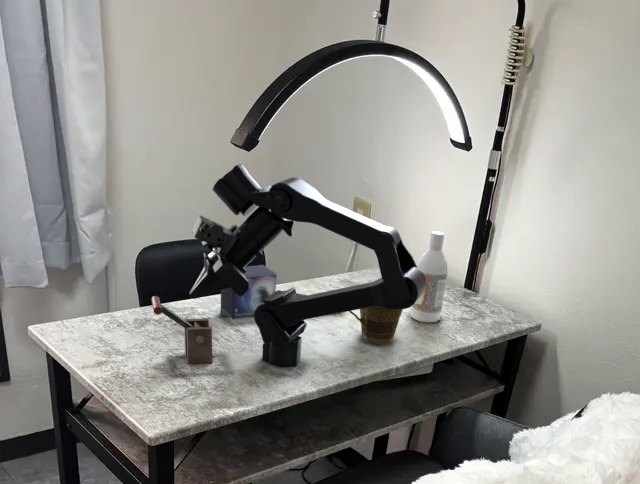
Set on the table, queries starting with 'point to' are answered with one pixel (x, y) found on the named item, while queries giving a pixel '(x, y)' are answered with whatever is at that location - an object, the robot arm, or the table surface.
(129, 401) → the table surface
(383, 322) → the ceramic cup
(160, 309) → the crank
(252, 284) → the small box
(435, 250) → the bath foam
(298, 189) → the robot arm
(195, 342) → the bracket
